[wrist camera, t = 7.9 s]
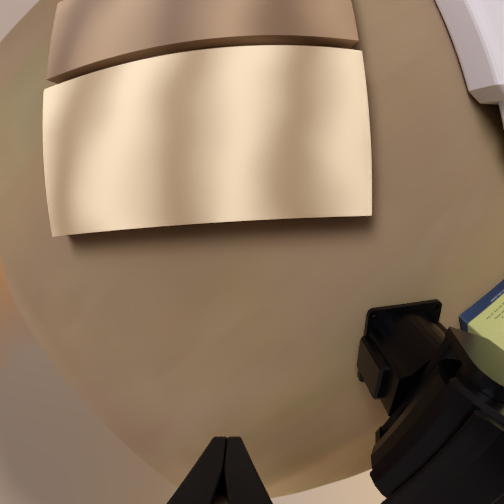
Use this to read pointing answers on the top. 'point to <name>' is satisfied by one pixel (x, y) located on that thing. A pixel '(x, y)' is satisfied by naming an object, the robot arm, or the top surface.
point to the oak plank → (209, 139)
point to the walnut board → (186, 29)
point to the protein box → (487, 316)
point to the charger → (478, 45)
